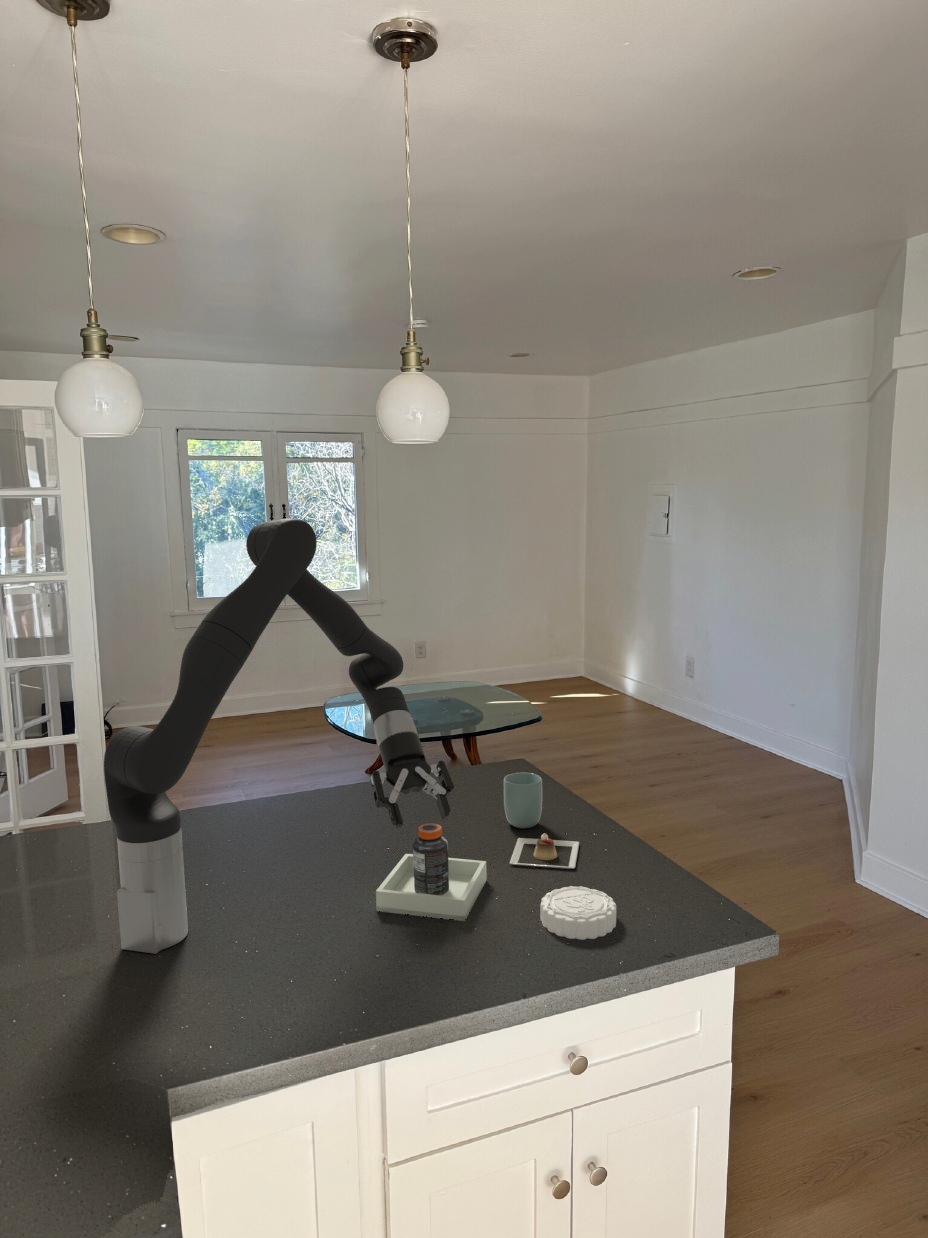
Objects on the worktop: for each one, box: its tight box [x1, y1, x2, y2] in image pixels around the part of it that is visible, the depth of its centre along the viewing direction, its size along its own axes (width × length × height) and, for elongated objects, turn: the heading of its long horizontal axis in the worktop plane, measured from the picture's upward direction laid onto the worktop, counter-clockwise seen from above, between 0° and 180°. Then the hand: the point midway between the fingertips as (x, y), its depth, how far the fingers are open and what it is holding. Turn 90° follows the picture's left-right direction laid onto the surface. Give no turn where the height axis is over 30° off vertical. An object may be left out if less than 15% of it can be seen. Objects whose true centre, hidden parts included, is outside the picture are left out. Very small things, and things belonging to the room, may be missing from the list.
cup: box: [503, 771, 543, 829], centre depth 171 cm, size 8×8×10 cm
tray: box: [375, 853, 488, 922], centre depth 141 cm, size 15×15×4 cm
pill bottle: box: [412, 822, 449, 896], centre depth 140 cm, size 6×6×11 cm
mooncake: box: [539, 885, 617, 941], centre depth 132 cm, size 12×12×4 cm
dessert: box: [509, 832, 580, 870], centre depth 156 cm, size 12×12×5 cm
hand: (423, 821), depth 143 cm, fingers open, 8 cm apart
